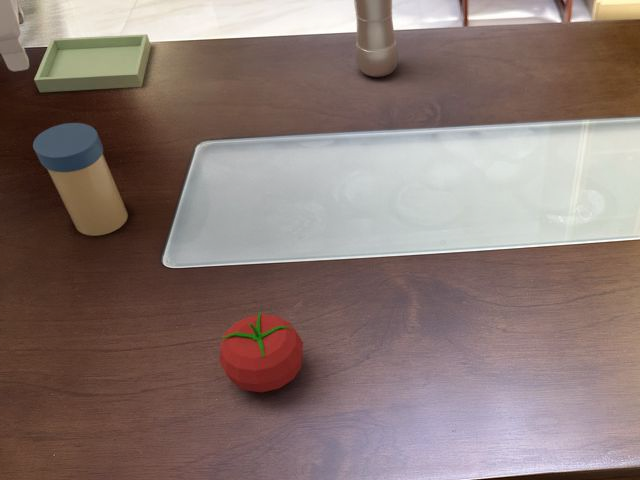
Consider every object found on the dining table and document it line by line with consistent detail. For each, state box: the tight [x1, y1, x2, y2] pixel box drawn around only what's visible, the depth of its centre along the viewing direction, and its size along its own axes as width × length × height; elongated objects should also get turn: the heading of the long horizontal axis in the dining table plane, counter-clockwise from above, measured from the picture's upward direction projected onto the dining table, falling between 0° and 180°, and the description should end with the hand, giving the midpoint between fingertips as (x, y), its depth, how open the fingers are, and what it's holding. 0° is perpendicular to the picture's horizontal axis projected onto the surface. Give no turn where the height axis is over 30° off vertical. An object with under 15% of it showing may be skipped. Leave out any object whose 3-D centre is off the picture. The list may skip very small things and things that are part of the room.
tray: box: [33, 34, 152, 93], centre depth 109 cm, size 14×12×2 cm
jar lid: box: [32, 122, 104, 172], centre depth 79 cm, size 7×6×2 cm
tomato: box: [219, 310, 304, 393], centre depth 70 cm, size 8×8×8 cm
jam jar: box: [46, 152, 129, 237], centre depth 83 cm, size 6×6×11 cm
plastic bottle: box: [353, 0, 399, 78], centre depth 104 cm, size 6×7×20 cm
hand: (17, 43), depth 70 cm, fingers open, 8 cm apart
